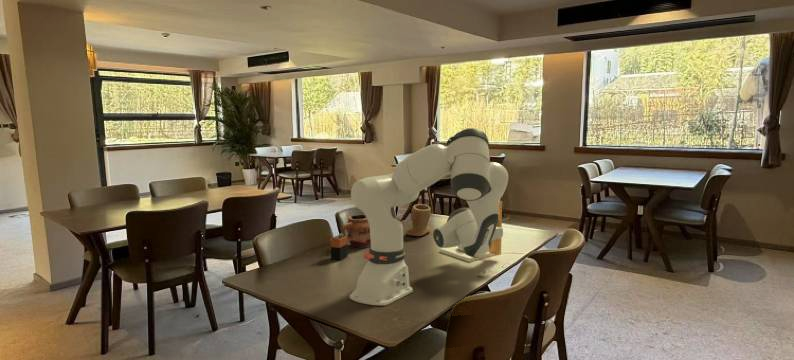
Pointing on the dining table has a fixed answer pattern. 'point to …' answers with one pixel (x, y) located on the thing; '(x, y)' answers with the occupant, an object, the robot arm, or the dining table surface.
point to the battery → (339, 247)
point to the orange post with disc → (495, 243)
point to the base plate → (462, 254)
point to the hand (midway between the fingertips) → (492, 226)
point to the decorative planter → (357, 231)
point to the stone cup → (419, 220)
